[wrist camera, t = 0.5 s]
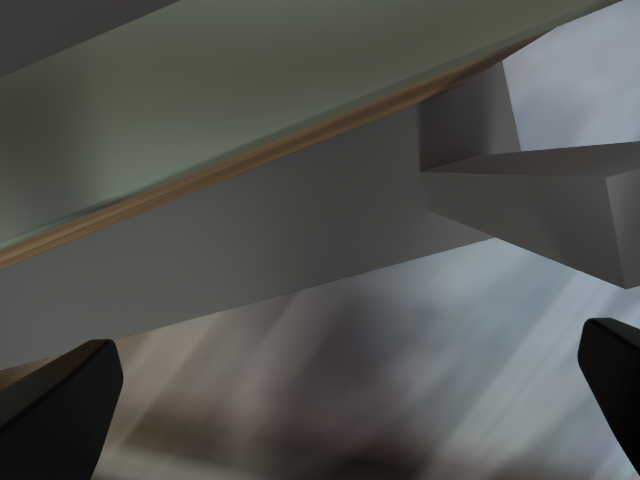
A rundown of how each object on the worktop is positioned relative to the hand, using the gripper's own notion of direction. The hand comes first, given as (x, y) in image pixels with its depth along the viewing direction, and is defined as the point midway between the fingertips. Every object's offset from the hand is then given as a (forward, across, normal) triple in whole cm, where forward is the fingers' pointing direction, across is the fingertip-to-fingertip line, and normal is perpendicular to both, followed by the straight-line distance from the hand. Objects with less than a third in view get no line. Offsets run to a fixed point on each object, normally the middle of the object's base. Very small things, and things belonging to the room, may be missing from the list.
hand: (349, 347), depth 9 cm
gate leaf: (+14, +5, -1) cm, 15 cm away
